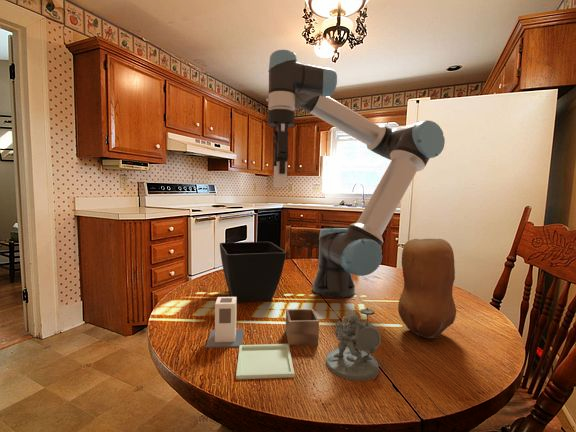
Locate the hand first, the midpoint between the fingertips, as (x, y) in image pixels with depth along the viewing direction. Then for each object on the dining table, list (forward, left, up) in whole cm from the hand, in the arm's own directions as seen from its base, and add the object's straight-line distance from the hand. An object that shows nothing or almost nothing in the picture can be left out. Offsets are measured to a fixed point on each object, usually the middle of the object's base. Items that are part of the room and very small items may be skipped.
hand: (279, 187), depth 84 cm
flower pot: (+8, -14, -37) cm, 40 cm away
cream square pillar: (+13, +16, -36) cm, 42 cm away
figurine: (-14, +28, -37) cm, 48 cm away
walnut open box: (-5, +17, -37) cm, 41 cm away
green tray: (+4, +26, -37) cm, 45 cm away
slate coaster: (+13, +16, -37) cm, 42 cm away
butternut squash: (-37, +16, -37) cm, 55 cm away
